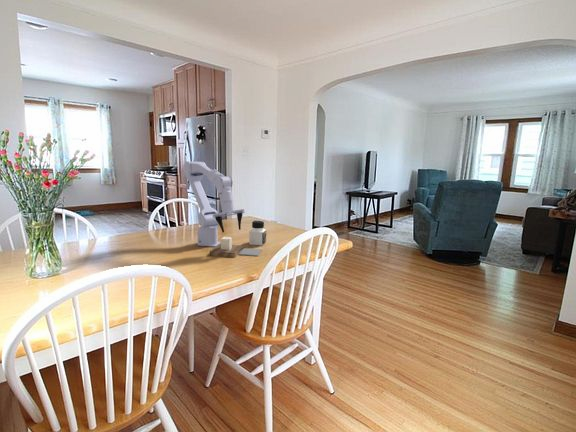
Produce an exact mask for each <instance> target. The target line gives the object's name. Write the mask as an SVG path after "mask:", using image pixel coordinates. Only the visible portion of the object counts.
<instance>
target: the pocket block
mask: <svg viewBox="0 0 576 432" xmlns="http://www.w3.org/2000/svg"><path fill="white" fill-rule="evenodd" d="M242 250H243V245H240V244H232V249H231V250H221V243H219V244H218V245H217V246H215V247H212V249H211V250H209V256H213V257H214V256H215V257H227V258H236V257H237V256H238V255H239V253H240V252H241V251H242Z"/></svg>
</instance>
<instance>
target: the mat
mask: <svg viewBox="0 0 576 432" xmlns="http://www.w3.org/2000/svg"><path fill="white" fill-rule="evenodd" d="M262 251H263V249H258V248H247V247H246V248H243V247H242V251H241V252H240V253H239V254H238V255H239V256H248V257H250V256H253V257H258V256H259V255H260V254H261V253H262Z"/></svg>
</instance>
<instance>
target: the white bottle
mask: <svg viewBox="0 0 576 432" xmlns="http://www.w3.org/2000/svg"><path fill="white" fill-rule="evenodd" d="M251 227H252V228H251V230H249V231H248V233H249V235H248V236H249V237H248V238H249V239H248V240H249V243H248V244H249V245H251V246H264V245H265V244H266V243H267V229H265V222H264V221H263V220H261V219H260V220H258V219H256V220H253V221H251Z"/></svg>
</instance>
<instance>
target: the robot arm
mask: <svg viewBox="0 0 576 432" xmlns="http://www.w3.org/2000/svg"><path fill="white" fill-rule="evenodd" d="M182 171H183V173H184V175H185V178H186V180H188V182H189V186H190V188H191V190H192V192H193V195H194V198H195V200H196V203H197V205H198V207H199V210H200V211H199V212H198V214H197V218H198V224H199V227H198V229H197V244H196V245H197V246H200V247H212V248H214V247H215V246H217V245H218V244H221V241H218V240H219V239H218V235H219V234H218V233H219V232H218V228H219V227H220V229H221V232H222V234H223V233H225V229H224V224H223V217H227V216H235V215H236V217H237V218H236V219H237V225H238V230H241V224H242V219H243V214H245V209H244V208H243V209H241V208H240V209H236V210H235V205H234V199H233V193H232V187H233V185H234V184H233V179H232V178H231V176H229V175H227V176H225V175H224V173H221V172H219V170H217V169H211V168H210V167H209V166H207V164H206V163H205V162H204V161H202V160H201V161H185V162H184V164H183V170H182ZM204 176H206V177H207V180H209V181H210V182H211V183H213V185H214V187H215V189H216V191H217V193H218V196H219V200H220V206H221V208H220V209H221V212H218V211H217V210H216V209H215V208H214V207H212V205H211V204H210V202H209V199H208V197H207V195H206V192H205V190H204V188H203V185H202V183H201V181H202V180H203V179H204Z"/></svg>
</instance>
